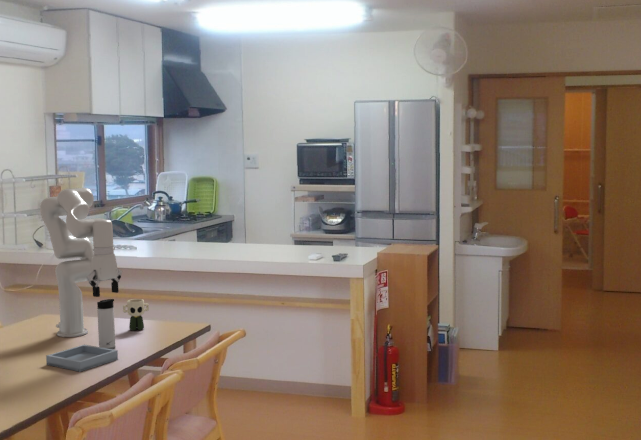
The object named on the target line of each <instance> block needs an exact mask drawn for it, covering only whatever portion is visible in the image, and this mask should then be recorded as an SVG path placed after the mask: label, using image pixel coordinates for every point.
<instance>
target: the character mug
mask: <svg viewBox="0 0 641 440" xmlns="http://www.w3.org/2000/svg"><path fill="white" fill-rule="evenodd" d="M126 302H127V304H124V305H122V312H123V313H127V315H128V316H130V317H129V327H128V328H129V330H130V331H136V330H139V331H140V330H143V329H145V323H144V319H143V318H144V317H143V316H142V315H144V314H145V312H148V311H149V310H150V307H149V305H150V304H149V303H145V300H144V299H142V298H131V299H128V300H127V301H126ZM145 306H146V308H145ZM126 308H127V309H126Z"/></svg>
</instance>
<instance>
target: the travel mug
mask: <svg viewBox="0 0 641 440" xmlns="http://www.w3.org/2000/svg"><path fill="white" fill-rule="evenodd" d="M114 302H115V299H114V298H108V299H107V298H106V299H102V300H99V301H97V308H96V309H97V327H98V328H97V330H98V331H97V332H98V347H101V348H107V349H113V350H116V329H115V325H116V324H115V307H114V305H115V304H114Z"/></svg>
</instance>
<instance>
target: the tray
mask: <svg viewBox="0 0 641 440" xmlns="http://www.w3.org/2000/svg"><path fill="white" fill-rule="evenodd" d="M118 354H119V353H118V350H117V349H107V348H101V347H99V346H95V345H89V344H85V343H84V344H81V345H78V346H74V347H70V348H68V349H67V348H66V349H65V350H60V351H58V352H54V353H50V354H47V355H46V358H45V359H46V366H51V367H56V368H60V369H65V370H70V371H74V372H80V373H81V372H83V371H87V370H90V369H93V368H96V367H100V366H102V365H105V364H107V363H112V362H114V361H115V362H116V361H117V360H119V356H118Z"/></svg>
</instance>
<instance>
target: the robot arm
mask: <svg viewBox="0 0 641 440" xmlns="http://www.w3.org/2000/svg"><path fill="white" fill-rule="evenodd" d="M94 197H95V196H94V194H93V192H92V191H91V189H89V188H87V187H80V188H79V187H78V188H77V187H76V188H75V187H74V188H65V189H62V190H60V191H59V192H58V194H57V196H50V197H46V198H43V199H42V201H41V202H40V205H39V207H40V208H39V210H40V216H41V220H42V222H43V223H44V224H45V227H46V229H47V230H48V233H49V237H50V242H51V246H52V249H53V253H54V256H55V258H56V259H58V260H65V261H61V262H59V263H58V264H57V265H56V267H55V269H54V270H55V271H54V274H55V278H56V283H57V288H58V301H59V302H58V303H59V304H58V305H59V322H58V324H56V325H55V327H56V328H58V331H57V332H56V335H57V336H58V337H61V338H73V337H81V336H85V335H86V334H88V333H89V332H88V331H89V330H88V328H85V327H84V326H85V324H84V322H85V321H84V305H83V303H84V302H83V300H84V299H83V292H82V290H81V288H80V287H79V286H78V285H77V283H81V282H82V283H83V282H88V284H89V285H90V286H91V288H92V296H93V297H94V298H99V297H100V296H101V293H100V292H101V291H100V286H99V285H100V283H101V282H105V281H111V284H110V285H111V293H115V294H117V293H120V292H119V291H120V290H119V283H120V279H121V278H122V274H123V270H122V269H120V268H118V263H117V258H116V254H115V250H116V248H115V247H114V232H113V231H114V230H113V227H114V226H113V222H112V221H111V220H110V219H105V218H102V217H98V218H97V217H96V218H87V217H88V215H89V213H90V208H91V207H92V206H93V205H94V202H95V201H94V200H95V199H94ZM65 216H66V218H65V221H64V220H63V219H62V218H61V217H65ZM90 238H92V241H93V243H92V242H91V240H90ZM92 244H93V245H92ZM73 259H74V260H73Z"/></svg>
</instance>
